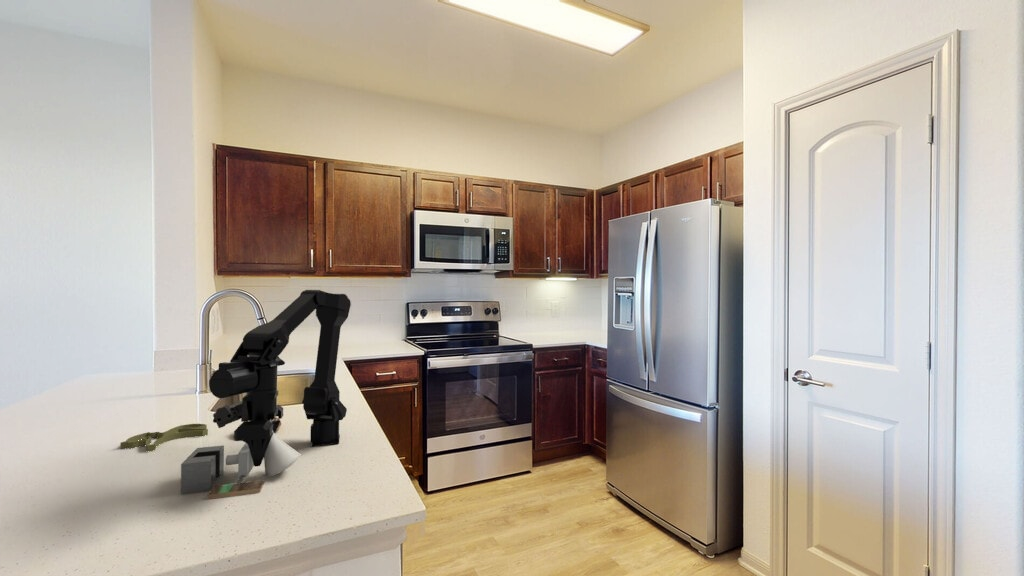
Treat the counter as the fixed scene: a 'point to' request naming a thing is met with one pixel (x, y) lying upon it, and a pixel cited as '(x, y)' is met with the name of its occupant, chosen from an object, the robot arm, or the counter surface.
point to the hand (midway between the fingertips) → (260, 461)
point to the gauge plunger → (241, 462)
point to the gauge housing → (211, 475)
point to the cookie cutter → (165, 436)
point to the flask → (279, 456)
